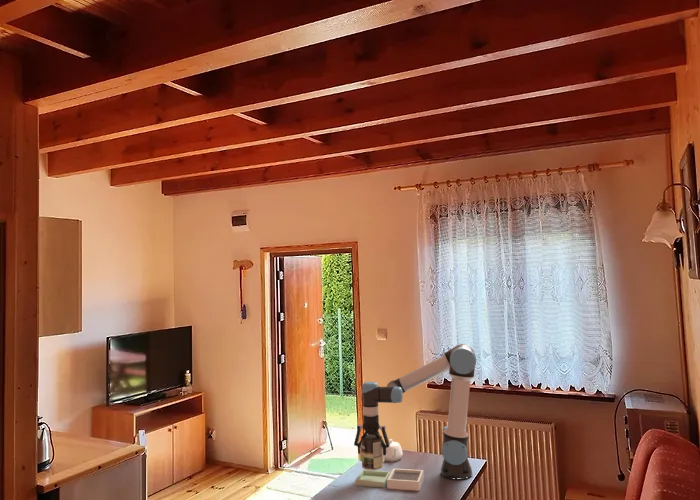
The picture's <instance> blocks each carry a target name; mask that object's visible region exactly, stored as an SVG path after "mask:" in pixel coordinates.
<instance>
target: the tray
mask: <svg viewBox="0 0 700 500" xmlns="http://www.w3.org/2000/svg"><path fill="white" fill-rule="evenodd" d="M390 473H391V471H387V470H386V471H385V470H383V471H382V470H365V469H362V470H361V472H360V473H359V475H358V476H357V478H356V479H355V487H367V488H369V487H370V488H381V489H385V488H386V486H387V479H388V477H389V475H390Z"/></svg>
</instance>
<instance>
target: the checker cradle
mask: <svg viewBox="0 0 700 500" xmlns="http://www.w3.org/2000/svg"><path fill="white" fill-rule="evenodd" d="M424 471H425V470H423V469H408V468H392V470H391V471H390V475H389V477H388V479H387V484H386V486H387V488H386V489H389V490H391V489H392V490H403V491H404V490H406V491H415V492H416V491H417V492H419V491H420V490H421V487H422V485H423V482H424V480H425V474H424V473H425V472H424ZM395 472H402V473H418V474H420V475H419V478H418V480H417V481H411V480H396V479H392V478H393V476H394V474H395Z"/></svg>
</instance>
